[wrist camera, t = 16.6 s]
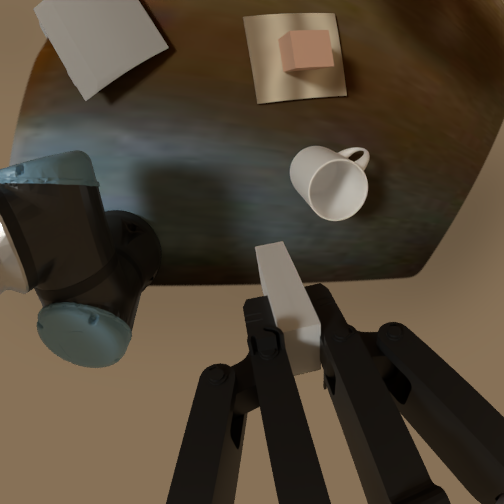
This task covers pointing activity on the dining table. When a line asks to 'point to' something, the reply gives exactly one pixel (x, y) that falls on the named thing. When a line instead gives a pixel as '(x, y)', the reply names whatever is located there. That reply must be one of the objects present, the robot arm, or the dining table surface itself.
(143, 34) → the book
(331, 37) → the board
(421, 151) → the dining table surface
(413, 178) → the dining table surface
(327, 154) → the mug
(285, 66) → the pink rectangular block
